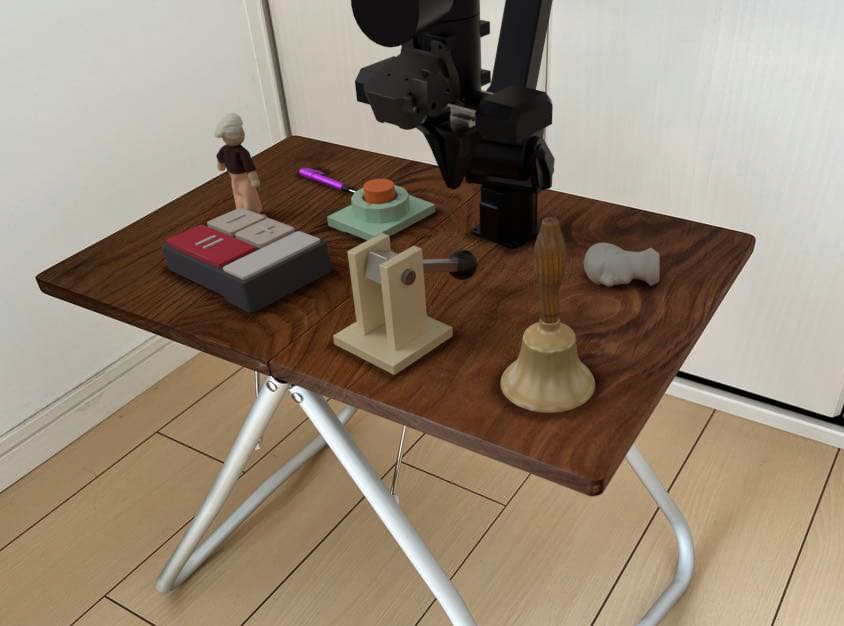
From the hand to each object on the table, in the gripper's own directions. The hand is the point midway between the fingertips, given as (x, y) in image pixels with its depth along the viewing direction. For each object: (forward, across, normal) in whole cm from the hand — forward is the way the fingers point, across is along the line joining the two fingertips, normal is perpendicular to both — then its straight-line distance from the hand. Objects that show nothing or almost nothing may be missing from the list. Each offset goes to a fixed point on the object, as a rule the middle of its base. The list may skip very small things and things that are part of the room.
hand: (453, 187), depth 83 cm
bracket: (+11, +1, -11) cm, 16 cm away
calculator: (+12, -21, -10) cm, 26 cm away
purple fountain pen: (+12, -28, +11) cm, 32 cm away
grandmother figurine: (+12, -31, -2) cm, 33 cm away
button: (+9, -18, +7) cm, 21 cm away
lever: (+7, +1, -6) cm, 9 cm away
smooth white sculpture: (+12, +12, +11) cm, 20 cm away
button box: (+11, -18, +7) cm, 22 cm away
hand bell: (+12, +17, -7) cm, 22 cm away
